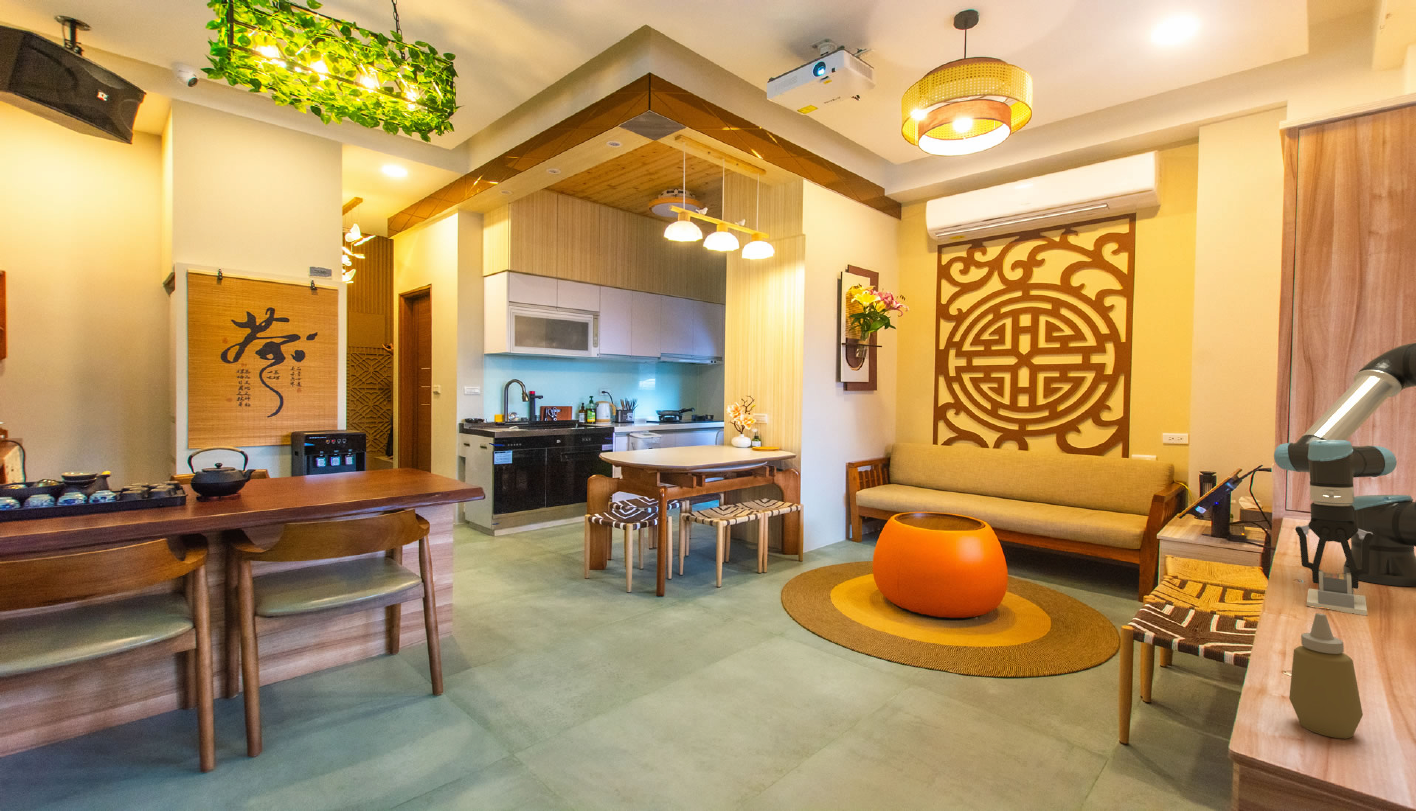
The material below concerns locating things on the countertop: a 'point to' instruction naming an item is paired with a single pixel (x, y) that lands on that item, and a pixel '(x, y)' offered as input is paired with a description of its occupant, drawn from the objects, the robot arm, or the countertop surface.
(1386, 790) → the countertop surface
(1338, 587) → the plug
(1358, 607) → the board
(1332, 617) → the countertop surface
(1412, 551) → the robot arm
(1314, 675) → the squeeze bottle
